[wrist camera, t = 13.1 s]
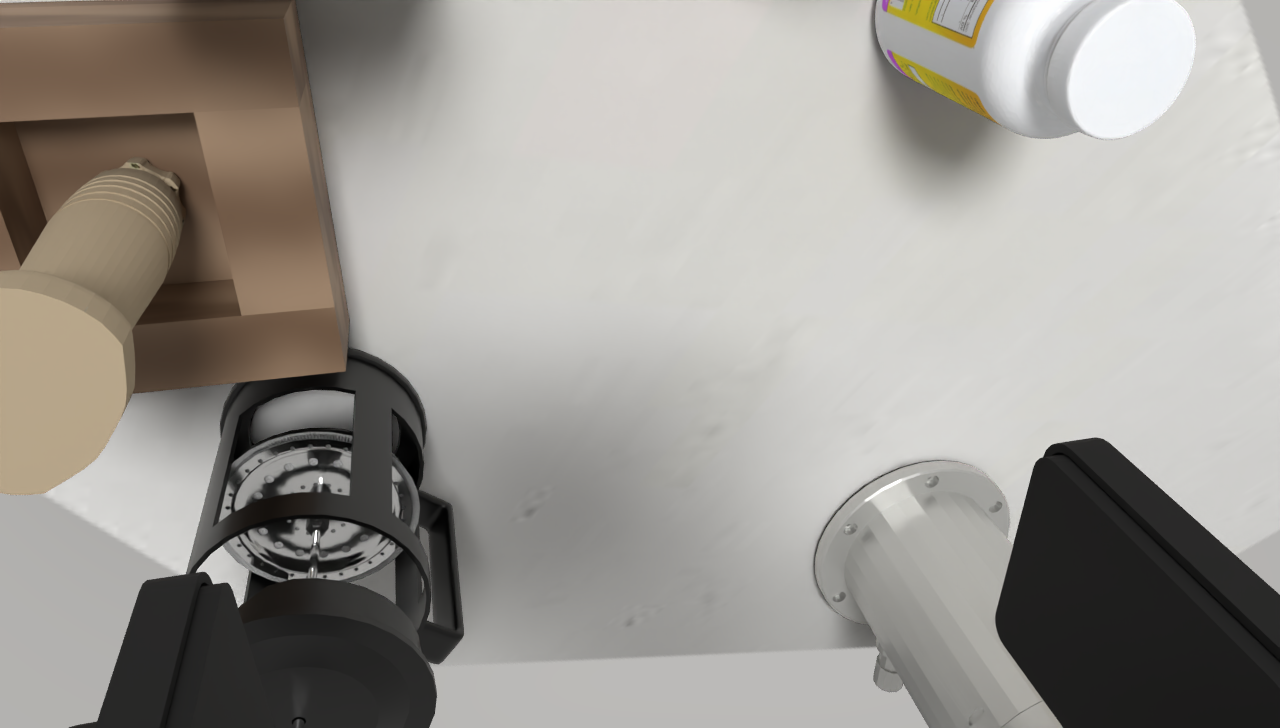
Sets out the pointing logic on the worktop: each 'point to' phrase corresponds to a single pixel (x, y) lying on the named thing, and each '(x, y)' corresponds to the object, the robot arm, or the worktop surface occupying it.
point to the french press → (336, 553)
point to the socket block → (184, 172)
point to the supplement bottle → (1045, 59)
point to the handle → (80, 322)
